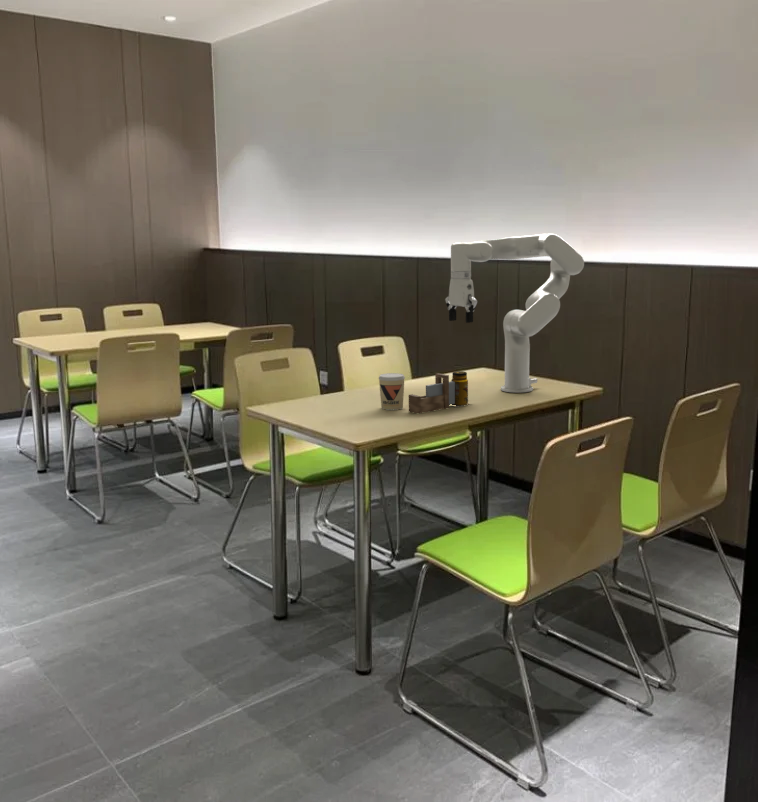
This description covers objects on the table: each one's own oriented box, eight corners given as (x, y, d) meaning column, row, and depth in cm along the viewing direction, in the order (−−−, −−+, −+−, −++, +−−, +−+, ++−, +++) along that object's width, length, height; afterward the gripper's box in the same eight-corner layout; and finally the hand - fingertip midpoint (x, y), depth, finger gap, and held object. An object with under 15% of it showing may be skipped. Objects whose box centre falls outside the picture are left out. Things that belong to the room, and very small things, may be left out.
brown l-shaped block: (439, 405, 286) (438, 373, 283) (448, 408, 281) (448, 375, 279) (408, 411, 278) (407, 377, 275) (417, 414, 273) (417, 379, 271)
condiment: (472, 404, 287) (472, 372, 284) (454, 408, 282) (454, 374, 280) (460, 401, 293) (460, 369, 290) (442, 404, 288) (441, 372, 286)
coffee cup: (377, 410, 280) (376, 377, 278) (381, 405, 289) (380, 372, 287) (403, 411, 279) (403, 377, 276) (406, 405, 288) (406, 373, 285)
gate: (452, 403, 286) (451, 381, 285) (454, 403, 285) (454, 381, 283) (425, 407, 280) (425, 385, 278) (428, 408, 278) (428, 386, 277)
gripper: (483, 276, 292) (483, 322, 295) (453, 275, 306) (453, 319, 309) (468, 277, 288) (468, 323, 291) (438, 275, 301) (438, 320, 305)
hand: (460, 321), depth 300 cm, fingers open, 9 cm apart
